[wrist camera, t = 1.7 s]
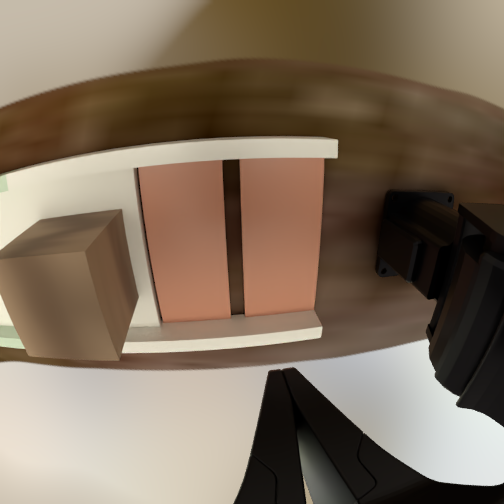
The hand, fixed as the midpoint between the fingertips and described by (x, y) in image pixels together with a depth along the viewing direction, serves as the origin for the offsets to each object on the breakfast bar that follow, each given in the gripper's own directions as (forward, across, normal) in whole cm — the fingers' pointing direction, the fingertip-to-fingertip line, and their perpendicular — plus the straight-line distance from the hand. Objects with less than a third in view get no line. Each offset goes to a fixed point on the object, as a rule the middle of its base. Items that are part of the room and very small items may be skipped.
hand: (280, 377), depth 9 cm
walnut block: (+10, +10, 0) cm, 14 cm away
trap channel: (+11, +10, 0) cm, 15 cm away
